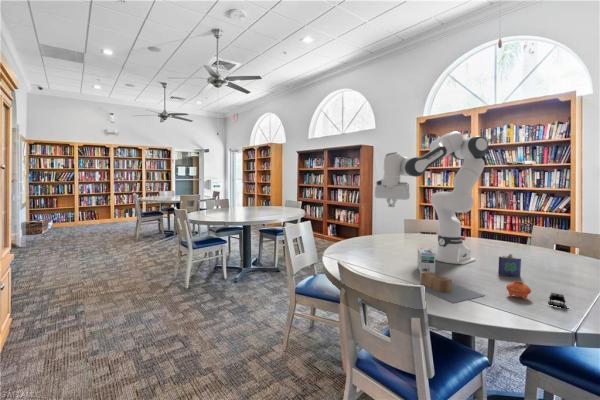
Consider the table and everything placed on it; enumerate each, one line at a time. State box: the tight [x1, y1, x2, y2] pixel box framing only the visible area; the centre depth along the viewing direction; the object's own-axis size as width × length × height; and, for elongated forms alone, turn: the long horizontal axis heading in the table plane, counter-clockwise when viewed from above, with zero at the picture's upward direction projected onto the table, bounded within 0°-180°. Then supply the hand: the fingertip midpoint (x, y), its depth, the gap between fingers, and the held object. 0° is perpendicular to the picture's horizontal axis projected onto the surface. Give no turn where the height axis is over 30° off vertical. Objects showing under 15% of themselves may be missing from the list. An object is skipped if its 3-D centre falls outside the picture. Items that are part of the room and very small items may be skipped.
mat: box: [423, 283, 486, 304], centre depth 126 cm, size 18×18×1 cm
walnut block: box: [419, 271, 452, 293], centre depth 130 cm, size 5×5×12 cm
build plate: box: [547, 292, 569, 309], centre depth 113 cm, size 12×7×5 cm, turn 52°
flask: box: [497, 253, 522, 277], centre depth 146 cm, size 9×3×11 cm, turn 74°
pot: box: [506, 280, 532, 301], centre depth 120 cm, size 8×8×7 cm
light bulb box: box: [417, 247, 436, 274], centre depth 152 cm, size 11×7×11 cm, turn 168°
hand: (391, 207), depth 168 cm, fingers closed
